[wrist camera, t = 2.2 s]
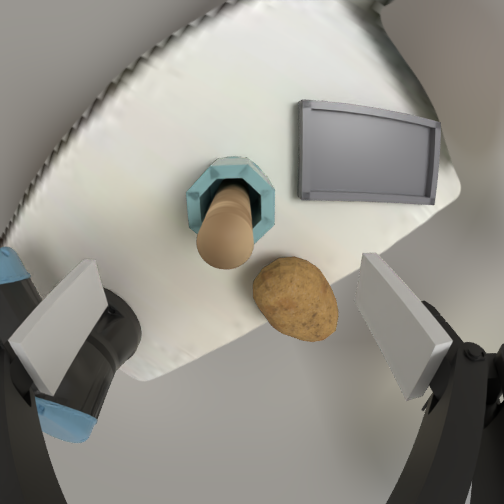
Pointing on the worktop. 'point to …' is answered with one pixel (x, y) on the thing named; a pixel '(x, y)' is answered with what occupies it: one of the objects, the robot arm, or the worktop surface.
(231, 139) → the worktop surface
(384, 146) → the tray
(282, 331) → the potato
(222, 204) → the dowel
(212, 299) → the worktop surface
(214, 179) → the cup
